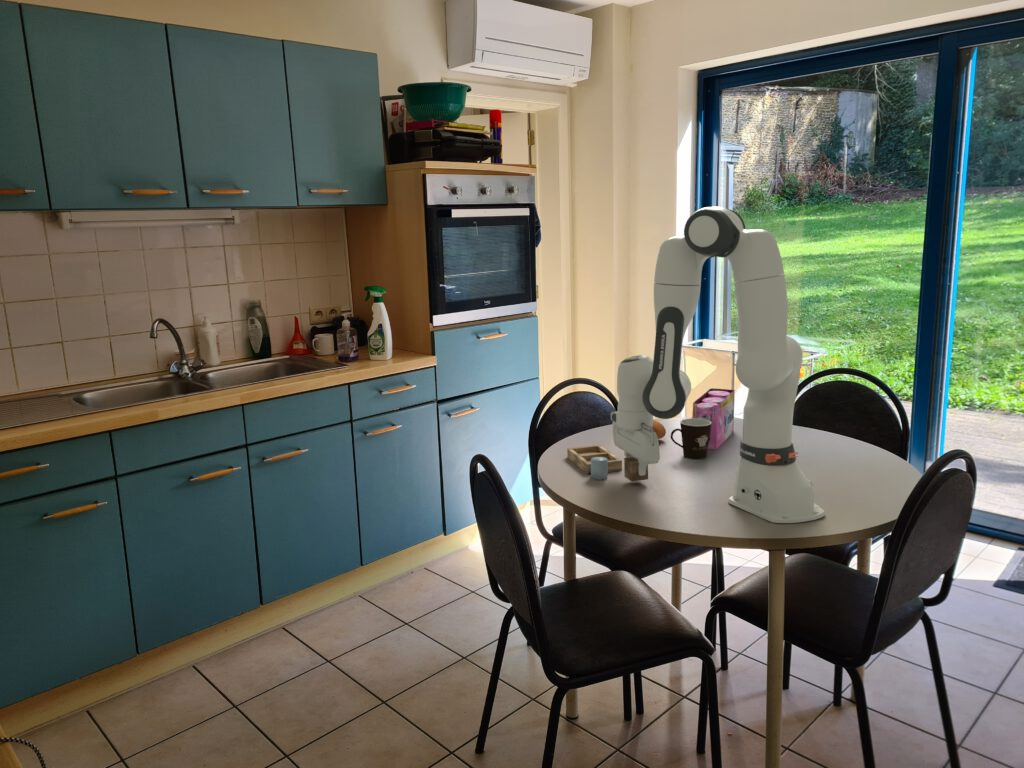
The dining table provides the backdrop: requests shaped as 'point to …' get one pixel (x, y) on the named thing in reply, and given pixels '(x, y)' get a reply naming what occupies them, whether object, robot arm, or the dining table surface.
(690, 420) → the coffee mug
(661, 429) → the potato
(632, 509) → the dining table surface
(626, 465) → the walnut block
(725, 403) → the gum box
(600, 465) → the grey capsule
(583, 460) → the wooden tray
